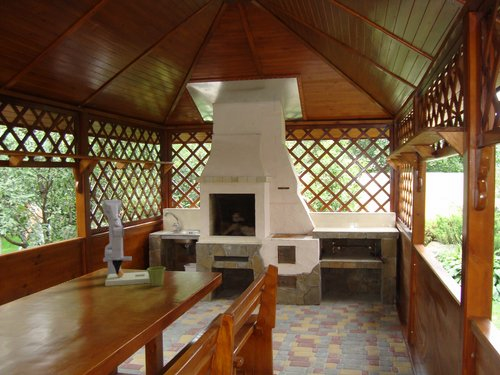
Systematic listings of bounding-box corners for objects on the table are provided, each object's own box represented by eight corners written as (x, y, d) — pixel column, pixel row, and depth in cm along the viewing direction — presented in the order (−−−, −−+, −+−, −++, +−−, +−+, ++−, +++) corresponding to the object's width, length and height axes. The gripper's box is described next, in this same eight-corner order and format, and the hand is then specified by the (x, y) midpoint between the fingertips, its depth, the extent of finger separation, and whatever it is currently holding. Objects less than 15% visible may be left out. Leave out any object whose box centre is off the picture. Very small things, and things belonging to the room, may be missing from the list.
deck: (109, 278, 233) (109, 271, 233) (153, 275, 238) (153, 268, 238) (105, 286, 215) (105, 278, 215) (152, 282, 220) (152, 275, 220)
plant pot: (143, 286, 212) (143, 269, 212) (153, 282, 221) (152, 266, 221) (160, 287, 210) (159, 270, 210) (168, 283, 219) (168, 267, 219)
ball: (118, 269, 226) (124, 270, 227) (117, 275, 227) (124, 276, 227) (116, 271, 223) (123, 271, 223) (116, 277, 223) (122, 278, 223)
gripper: (102, 250, 219) (102, 276, 219) (130, 249, 222) (131, 274, 222) (104, 249, 226) (104, 274, 226) (131, 247, 229) (132, 272, 229)
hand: (117, 274), depth 224 cm, fingers closed, pressing on ball
